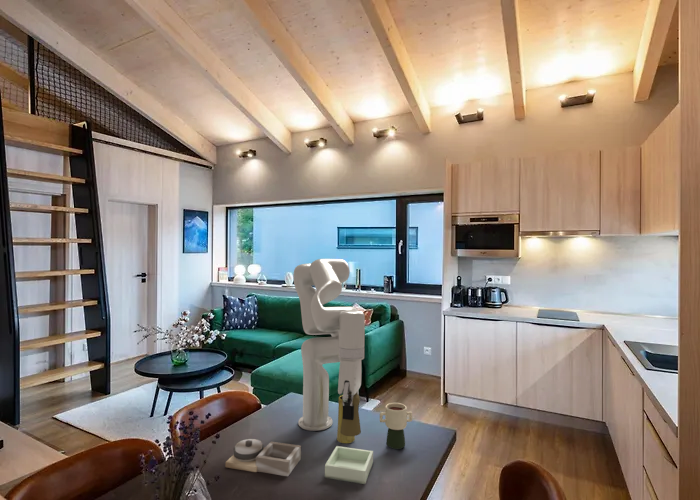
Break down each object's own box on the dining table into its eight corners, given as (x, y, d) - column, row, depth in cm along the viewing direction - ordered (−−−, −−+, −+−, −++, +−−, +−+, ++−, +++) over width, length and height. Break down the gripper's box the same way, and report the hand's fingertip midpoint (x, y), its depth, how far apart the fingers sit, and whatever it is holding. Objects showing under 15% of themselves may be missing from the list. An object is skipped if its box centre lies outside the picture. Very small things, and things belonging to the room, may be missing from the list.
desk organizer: (244, 449, 127) (244, 432, 127) (301, 458, 122) (301, 440, 122) (225, 467, 116) (225, 448, 116) (287, 477, 111) (287, 457, 111)
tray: (336, 457, 122) (336, 446, 123) (373, 462, 120) (373, 451, 120) (324, 477, 111) (324, 465, 111) (365, 484, 108) (365, 471, 108)
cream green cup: (409, 440, 134) (409, 402, 134) (414, 451, 127) (415, 410, 127) (377, 441, 133) (378, 402, 133) (381, 452, 126) (381, 411, 126)
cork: (358, 437, 112) (359, 398, 112) (338, 435, 113) (338, 396, 113) (362, 428, 118) (362, 391, 118) (342, 426, 119) (343, 389, 119)
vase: (357, 437, 136) (357, 395, 136) (351, 445, 130) (351, 401, 131) (340, 434, 138) (341, 393, 138) (334, 442, 132) (334, 399, 133)
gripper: (346, 345, 125) (345, 403, 125) (330, 359, 108) (329, 425, 108) (369, 347, 123) (369, 406, 123) (357, 361, 107) (356, 428, 106)
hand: (350, 414), depth 116 cm, fingers closed on cork, 5 cm apart
